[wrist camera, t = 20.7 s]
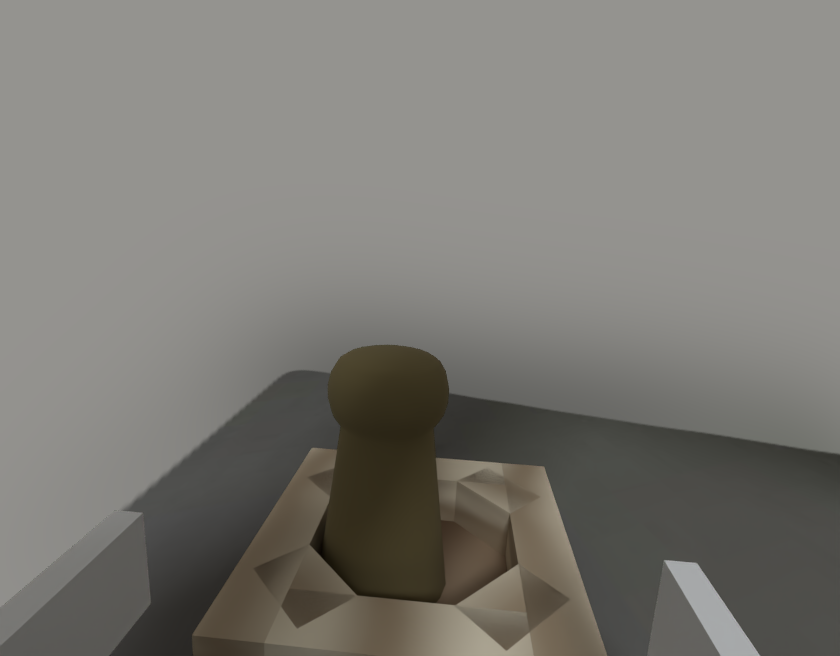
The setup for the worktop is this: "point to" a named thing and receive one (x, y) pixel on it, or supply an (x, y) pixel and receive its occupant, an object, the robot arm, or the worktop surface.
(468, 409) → the worktop surface
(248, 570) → the holder block
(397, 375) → the olive green peg
